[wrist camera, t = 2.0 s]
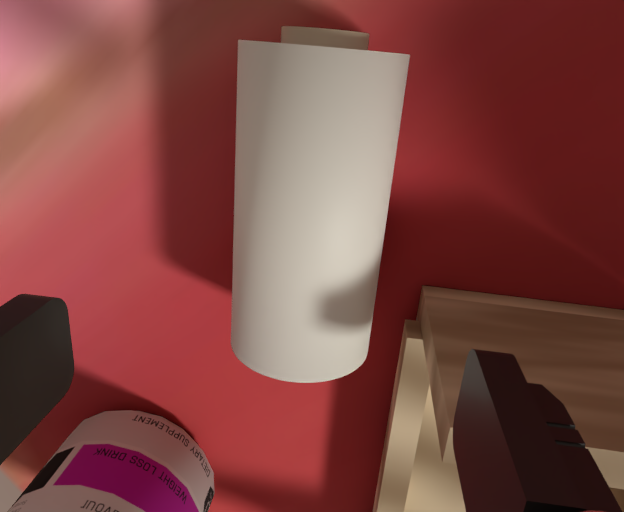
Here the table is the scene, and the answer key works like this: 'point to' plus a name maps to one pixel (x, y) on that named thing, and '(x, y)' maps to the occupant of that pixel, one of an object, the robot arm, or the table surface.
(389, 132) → the paper roll
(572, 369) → the roll holder
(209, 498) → the supplement can
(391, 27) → the table surface
